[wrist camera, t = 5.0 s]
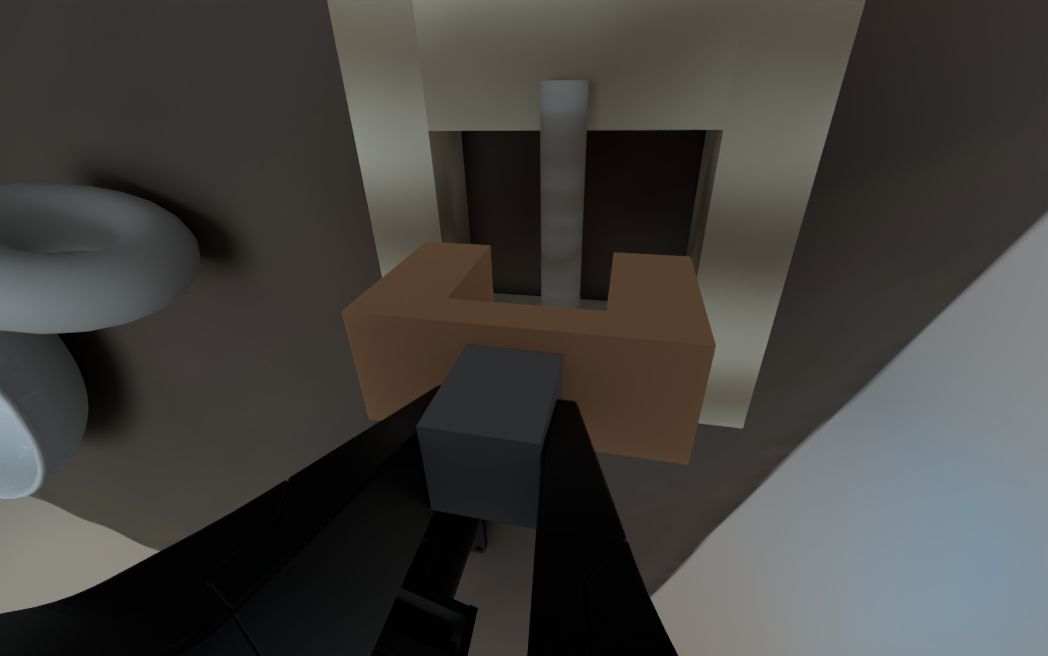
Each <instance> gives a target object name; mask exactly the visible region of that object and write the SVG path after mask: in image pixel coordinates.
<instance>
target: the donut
mask: <svg viewBox="0 0 1048 656" xmlns="http://www.w3.org/2000/svg"><path fill="white" fill-rule="evenodd" d="M61 251H93V252H86V253H77V254H46V253H51V252H61ZM200 264H201V260H200V252H199V246H198V242H197V239H196V237H195V236H194V235H193V234H192V233H191V231H190V230H189V229H188V228H187V227H186V226H185V224H184V223H183V222H182V221H181V220H180V219H179V218H178V217H177V216H175V215H174V214H172V213H170V212H169V211H167V210H165V209H163V208H162V207H160V206H158V205H156V204H155V203H153V202H151V201H148V200H145V199H142V198H139V197H136V196H133V195H130V194H127V193H124V192H120V191H114V190H109V189H104V188H99V187H93V186H87V185H75V184H63V183H16V184H8V185H0V330H2V331H13V332H24V333H35V334H55V333H72V332H88V331H93V330H98V329H103V328H108V327H112V326H117V325H122V324H127V323H130V322H132V321H135V320H137V319H140V318H143V317H145V316H148V315H150V314H153V313H155V312H158V311H160V310H162V309H164V308H165V307H167V306H168V305H170V304H171V303H172V302H174V301H175V300H177V299H178V298H179V297H181V296H182V295H184V294H185V293H186V292H187V290H188V289H189V287H190V286H191V284H192V282H193V281H194V279H195V277H196V276H197V274H198V272H199V271H200Z"/></svg>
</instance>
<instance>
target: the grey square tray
mask: <svg viewBox="0 0 1048 656" xmlns="http://www.w3.org/2000/svg"><path fill="white" fill-rule="evenodd" d="M865 1H866V0H327V2H328V7H329V12H330V17H331V22H332V27H333V32H334V37H335V42H336V47H337V52H338V57H339V62H340V67H341V72H342V77H343V83H344V88H345V93H346V98H347V103H348V108H349V113H350V118H351V123H352V128H353V133H354V138H355V143H356V148H357V153H358V158H359V163H360V168H361V173H362V178H363V183H364V189H365V194H366V199H367V204H368V209H369V214H370V219H371V224H372V229H373V234H374V239H375V244H376V249H377V254H378V259H379V264H380V269H381V274H382V277H384V276H385V275H386V274H387V273H389V272H390V271H391V270H392V269H393V268H395V267H396V266H397V265H398V264H399V263H401V262H402V261H403V260H404V259H406V258H407V257H408V256H409V255H410V254H412V253H413V252H414V251H415V250H416V249H418V248H419V247H420V246H421V245H422V244H424V243H425V242H440V243H458V244H471V237H470V226H469V214H468V203H467V191H466V180H465V169H464V157H463V146H462V134H461V131H538V130H540V169H541V296H529V295H515V294H500V293H493V295H494V302H500V303H512V304H524V305H537V306H549V307H561V308H573V309H586V310H598V311H607V303H608V301H601V300H586V299H580V284H581V260H582V235H583V210H584V186H585V161H586V137H587V130H706V136H705V142H704V148H703V154H702V160H701V166H700V172H699V179H698V185H697V191H696V197H695V203H694V209H693V215H692V222H691V228H690V234H689V240H688V246H687V252H686V256H688V257H691V260H692V264H693V267H694V271H695V274H696V278H697V281H698V285H699V288H700V292H701V295H702V299H703V302H704V306H705V309H706V313H707V316H708V320H709V323H710V327H711V330H712V334H713V337H714V341H715V344H716V349H715V353H714V357H713V361H712V366H711V370H710V374H709V379H708V383H707V387H706V392H705V396H704V400H703V405H702V409H701V413H700V417H699V422H698V423H701V424H710V425H718V426H727V427H735V428H743V426H744V422H745V419H746V415H747V412H748V408H749V405H750V401H751V398H752V394H753V391H754V387H755V384H756V380H757V377H758V374H759V370H760V367H761V363H762V360H763V356H764V353H765V349H766V346H767V342H768V339H769V335H770V332H771V328H772V325H773V321H774V318H775V314H776V311H777V307H778V304H779V300H780V297H781V294H782V290H783V287H784V283H785V280H786V276H787V273H788V269H789V266H790V262H791V259H792V255H793V252H794V248H795V245H796V241H797V238H798V234H799V231H800V227H801V224H802V220H803V217H804V214H805V210H806V207H807V203H808V200H809V196H810V193H811V189H812V186H813V182H814V179H815V175H816V172H817V168H818V165H819V161H820V158H821V154H822V151H823V147H824V144H825V140H826V137H827V134H828V130H829V127H830V123H831V120H832V116H833V113H834V109H835V106H836V102H837V99H838V95H839V92H840V88H841V85H842V81H843V78H844V74H845V71H846V67H847V64H848V61H849V57H850V54H851V50H852V47H853V43H854V40H855V36H856V33H857V29H858V26H859V22H860V19H861V15H862V12H863V8H864V5H865Z"/></svg>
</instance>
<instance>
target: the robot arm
mask: <svg viewBox="0 0 1048 656" xmlns="http://www.w3.org/2000/svg"><path fill="white" fill-rule="evenodd" d="M440 387H441V385H438V386H436V387H434V388H433V389H431V390H430V391H428V392H426V393H425V394H423V395H422V396H420V397H418V398H417V399H415V400H414V401H412V402H410V403H409V404H407V405H405V406H404V407H402V408H401V409H399V410H397V411H396V412H394V413H393V414H391V415H389V416H388V417H386V418H385V419H383V420H381V421H380V422H378V423H377V424H375V425H373V426H372V427H370V428H368V429H367V430H365V431H364V432H362V433H360V434H359V435H357V436H356V437H354V438H352V439H351V440H349V441H348V442H346V443H344V444H343V445H341V446H340V447H338V448H336V449H335V450H333V451H331V452H330V453H328V454H327V455H325V456H323V457H322V458H320V459H319V460H317V461H315V462H314V463H312V464H311V465H309V466H307V467H306V468H304V469H303V470H301V471H299V472H298V473H296V474H294V475H293V476H291V477H290V478H289V479H288V481H283V482H281V483H280V484H278V485H277V486H275V487H273V488H272V489H270V490H268V491H267V492H265V493H264V494H262V495H260V496H259V497H257V498H255V499H254V500H252V501H250V502H249V503H247V504H245V505H243V506H242V507H240V508H238V509H237V510H235V511H233V512H232V513H230V514H228V515H226V516H224V517H223V518H221V519H219V520H217V521H215V522H214V523H212V524H210V525H208V526H206V527H205V528H203V529H201V530H199V531H197V532H195V533H194V534H192V535H190V536H188V537H186V538H184V539H182V540H181V541H179V542H177V543H175V544H173V545H171V546H169V547H167V548H166V549H164V550H162V551H160V552H158V553H156V554H154V555H153V556H151V557H149V558H147V559H145V560H143V561H141V562H139V563H138V564H136V565H134V566H132V567H130V568H128V569H127V570H124V571H123V572H121V573H119V574H117V575H115V576H113V577H111V578H110V579H108V580H106V581H104V582H102V583H100V584H98V585H96V586H94V587H91V588H89V589H87V590H85V591H82V592H80V593H77V594H75V595H73V596H70V597H67V598H64V599H61V600H58V601H55V602H52V603H48V604H45V605H41V606H37V607H33V608H28V609H23V610H18V611H12V612H7V613H2V614H0V656H468V651H469V647H470V642H471V637H472V633H473V628H474V624H475V619H476V614H477V610H478V608H477V607H474V606H472V605H469V606H468V605H466V604H463V603H461V602H459V601H457V600H454V596H455V593H456V591H457V588H458V585H459V582H460V579H461V576H462V573H463V570H464V567H465V564H466V561H467V558H468V556H469V553H470V551H473V552H478V553H484V552H485V550H486V547H487V540H486V531H485V521H484V519H479V518H474V517H468V516H463V515H457V514H452V513H446V512H441V511H435V510H431V504H430V499H429V493H428V488H427V483H426V477H425V472H424V467H423V461H422V456H421V450H420V445H419V440H418V434H417V429H416V426H417V424H418V422H419V421H420V419H421V418H422V416H423V414H424V413H425V411H426V409H427V408H428V406H429V404H430V403H431V401H432V400H433V398H434V396H435V395H436V393H437V391H438V390H439V388H440ZM626 540H627V539H626V535H625V533H624V530H623V527H622V524H621V522H620V519H619V516H618V513H617V511H616V508H615V505H614V502H613V500H612V497H611V494H610V491H609V489H608V486H607V483H606V480H605V478H604V475H603V472H602V469H601V467H600V464H599V461H598V458H597V456H596V453H595V450H594V448H593V445H592V442H591V439H590V437H589V434H588V431H587V428H586V426H585V423H584V420H583V417H582V415H581V412H580V409H579V406H578V404H577V402H576V401H573V400H564V399H557V401H556V404H555V407H554V410H553V414H552V417H551V420H550V423H549V427H548V430H547V433H546V437H545V440H544V444H543V448H542V457H541V471H540V485H539V499H538V513H537V527H536V541H535V555H534V569H533V583H532V597H531V611H530V625H529V639H528V653H527V656H678V654H677V652H676V650H675V648H674V646H673V644H672V642H671V641H670V639H669V636H668V634H667V633H666V630H665V628H664V626H663V624H662V622H661V620H660V618H659V616H658V614H657V611H656V609H655V607H654V605H653V603H652V601H651V599H650V597H649V594H648V592H647V589H646V587H645V584H644V582H643V579H642V577H641V575H640V572H639V570H638V567H637V565H636V562H635V559H634V557H633V554H632V551H631V548H630V546H629V543H628V542H627V541H626Z"/></svg>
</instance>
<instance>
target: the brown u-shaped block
mask: <svg viewBox="0 0 1048 656" xmlns="http://www.w3.org/2000/svg"><path fill="white" fill-rule="evenodd" d="M341 312H342V316H343V320H344V324H345V328H346V332H347V336H348V340H349V344H350V348H351V352H352V355H353V359H354V363H355V367H356V371H357V375H358V379H359V383H360V387H361V391H362V395H363V399H364V403H365V407H366V411H367V415H368V419H370V420H377V421H381V420H383V419H385V418H386V417H388V416H389V415H391V414H393V413H394V412H396V411H397V410H399V409H401V408H402V407H404V406H405V405H407V404H409V403H410V402H412V401H414V400H415V399H417V398H418V397H420V396H422V395H423V394H425V393H426V392H428V391H430V390H431V389H433V388H434V387H436V386H438V385H441V387H440V388H439V390H438V391H437V393H436V395H435V396H434V398H433V400H432V401H431V403H430V404H429V406H428V408H427V409H426V411H425V413H424V414H423V416H422V418H421V419H420V421H419V422H418V424H417V426H416V429H417V434H418V440H419V445H420V450H421V456H422V461H423V467H424V472H425V477H426V483H427V488H428V493H429V499H430V504H431V510H435V511H441V512H446V513H452V514H457V515H463V516H468V517H474V518H479V519H485V520H490V521H496V522H502V523H507V524H513V525H518V526H524V527H529V528H535V529H536V527H537V513H538V499H539V485H540V471H541V457H542V448H543V444H544V440H545V437H546V433H547V430H548V427H549V423H550V420H551V417H552V414H553V410H554V407H555V404H556V401H557V399H564V400H573V401H576V402H577V404H578V406H579V409H580V412H581V415H582V417H583V420H584V423H585V426H586V428H587V431H588V434H589V437H590V439H591V442H592V445H593V448H594V450H595V452H601V453H608V454H615V455H622V456H629V457H636V458H643V459H650V460H657V461H664V462H671V463H678V464H685V465H689V461H690V456H691V452H692V448H693V443H694V439H695V435H696V430H697V426H698V422H699V417H700V413H701V409H702V405H703V400H704V396H705V392H706V387H707V383H708V379H709V374H710V370H711V366H712V361H713V357H714V353H715V349H716V344H715V341H714V337H713V334H712V330H711V327H710V323H709V320H708V316H707V313H706V309H705V306H704V302H703V299H702V295H701V292H700V288H699V285H698V281H697V278H696V274H695V271H694V267H693V264H692V260H691V257H688V256H671V255H653V254H635V253H617V252H614V254H613V262H612V270H611V278H610V287H609V295H608V303H607V311H598V310H586V309H573V308H561V307H549V306H537V305H524V304H512V303H500V302H494V295H493V278H492V261H491V245H475V244H458V243H440V242H425V243H424V244H422V245H421V246H420V247H419V248H418V249H416V250H415V251H414V252H413V253H412V254H410V255H409V256H408V257H407V258H406V259H404V260H403V261H402V262H401V263H399V264H398V265H397V266H396V267H395V268H393V269H392V270H391V271H390V272H389V273H387V274H386V275H385V276H384V277H382V278H381V279H380V280H379V281H378V282H376V283H375V284H374V285H373V286H372V287H370V288H369V289H368V290H367V291H366V292H364V293H363V294H362V295H361V296H359V297H358V298H357V299H356V300H355V301H353V302H352V303H351V304H350V305H349V306H347V307H346V308H345V309H344V310H342V311H341Z"/></svg>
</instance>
